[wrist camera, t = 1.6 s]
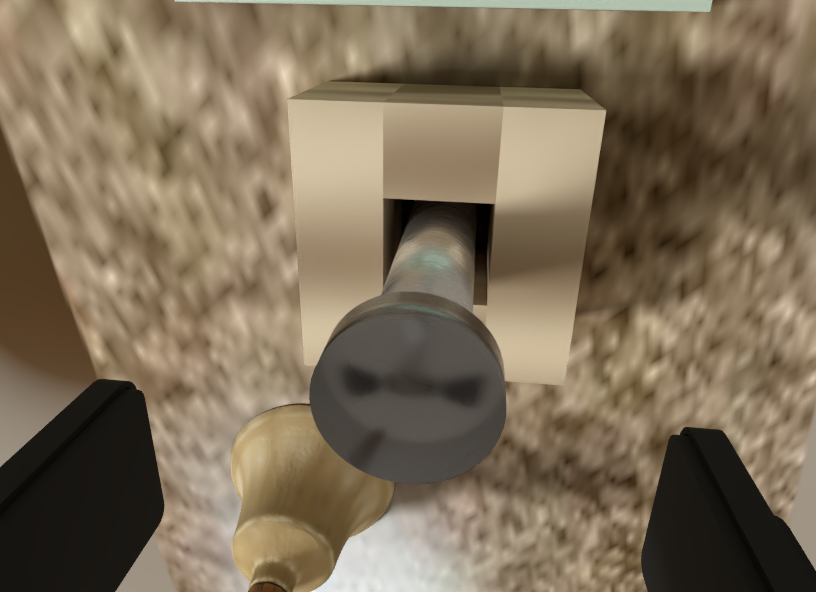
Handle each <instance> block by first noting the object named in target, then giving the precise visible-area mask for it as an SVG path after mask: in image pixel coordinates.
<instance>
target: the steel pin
mask: <svg viewBox="0 0 816 592" xmlns="http://www.w3.org/2000/svg"><path fill="white" fill-rule="evenodd" d="M476 219H477V203H468V202H448V201H428V200H415V203H414V206H413V209H412V211H411V214H410V217H409V219H408V222H407V225H406V228H405V230H404V233H403V236H402V239H401V241H400V244H399V247H398V250H397V252H396V255H395V258H394V260H393V263H392V266H391V269H390V271H389V274H388V277H387V280H386V282H385V285H384V288H383V291H382V293H381V295H380V296H377V297H374V298H372V299H369V300H367V301H365V302H363V303H361V304H359V305H358V306H356V307H355V308H353V309H352V310H351V311H349V312H348V313H347V314H346V315H345V316H344V317H343V318H342V319H341V320H340V321H339V323H338V324H337V326H336V327H335V328H334V330H333V332H332V334H331V336H330V338H329V340H328V342H327V344H326V346H325V348H324V350H323V352H322V354H321V356H320V359H319V361H318V363H317V365H316V367H315V369H314V372H313V375H312V378H311V384H310V398H309V399H310V407H311V412H312V415H313V419H314V421H315V424H316V426H317V428H318V430H319V432H320V433H321V435H322V437H323V438H324V440H325V441H326V442H327V444H328V445H329V446H330V447H331V448H332V449H333V450H334V451H335V452H336V453H337V454H338V455H339V456H340V457H341V458H342V459H344V460H345V461H346V462H348V463H349V464H350V465H352V466H354V467H355V468H357V469H359V470H361V471H363V472H365V473H367V474H369V475H371V476H374V477H377V478H380V479H383V480H387V481H391V482H397V483H404V484H428V483H434V482H440V481H444V480H447V479H451V478H454V477H456V476H458V475H461V474H463V473H465V472H467V471H468V470H470V469H472V468H473V467H475V466H476V465H477V464H479V463H480V462H481V461H482V460H483V459H484V458H485V457H486V456H487V455H488V454H489V453H490V452H491V451H492V449H493V448H494V447H495V445H496V443H497V442H498V440H499V438H500V436H501V433H502V430H503V428H504V424H505V418H506V391H505V372H504V364H503V358H502V355H501V351H500V349H499V347H498V344H497V342H496V340H495V338H494V337H493V335H492V334H491V332H490V331H489V329H488V328H487V327H486V326H485V325H484V324H483V322H482V321H481V320H480V319H478V318H477V317H476V316H475V315H474V314H473V295H474V270H475V245H476Z"/></svg>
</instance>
